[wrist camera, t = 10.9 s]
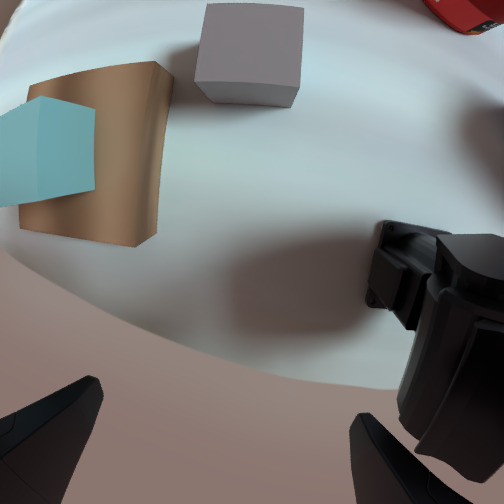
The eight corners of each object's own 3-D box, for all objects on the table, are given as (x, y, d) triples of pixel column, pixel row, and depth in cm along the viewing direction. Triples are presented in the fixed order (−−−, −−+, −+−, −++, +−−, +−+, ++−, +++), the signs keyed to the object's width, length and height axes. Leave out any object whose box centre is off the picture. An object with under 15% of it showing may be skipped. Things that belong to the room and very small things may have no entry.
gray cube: (295, 43, 14) (304, 8, 10) (290, 108, 16) (299, 87, 11) (221, 39, 14) (207, 3, 10) (212, 102, 16) (193, 81, 11)
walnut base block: (176, 79, 16) (155, 60, 12) (158, 231, 19) (135, 247, 15) (60, 92, 16) (29, 85, 12) (50, 217, 19) (19, 228, 15)
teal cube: (95, 109, 13) (40, 95, 8) (95, 189, 14) (38, 201, 9) (41, 126, 13) (-11, 122, 8) (42, 196, 15) (-11, 209, 10)
